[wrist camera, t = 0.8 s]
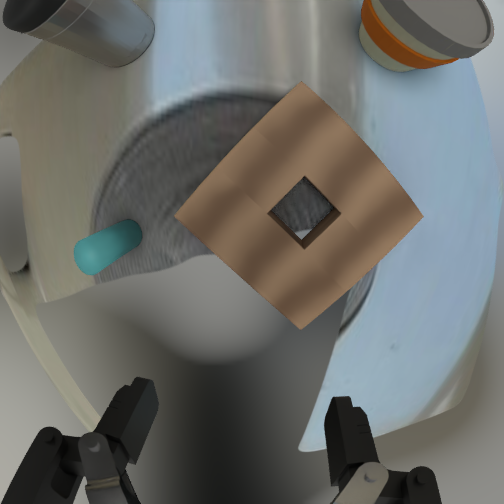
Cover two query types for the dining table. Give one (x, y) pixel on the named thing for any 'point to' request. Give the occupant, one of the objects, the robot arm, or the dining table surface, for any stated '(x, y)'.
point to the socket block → (278, 185)
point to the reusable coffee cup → (423, 31)
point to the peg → (106, 246)
